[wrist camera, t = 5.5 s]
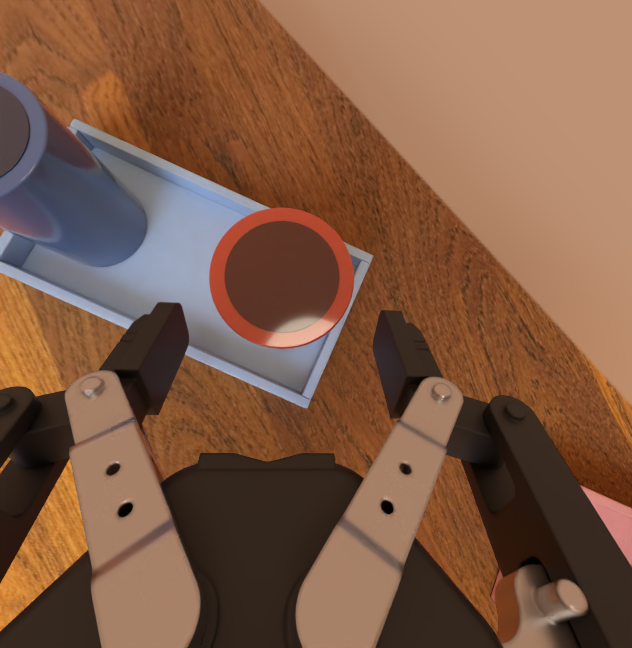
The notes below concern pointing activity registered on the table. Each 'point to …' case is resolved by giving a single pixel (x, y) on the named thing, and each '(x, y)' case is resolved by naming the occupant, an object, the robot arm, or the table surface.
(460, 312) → the table surface
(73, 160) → the blue pot
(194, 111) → the table surface
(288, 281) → the red spoon pot
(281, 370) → the blue tray
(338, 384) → the table surface
